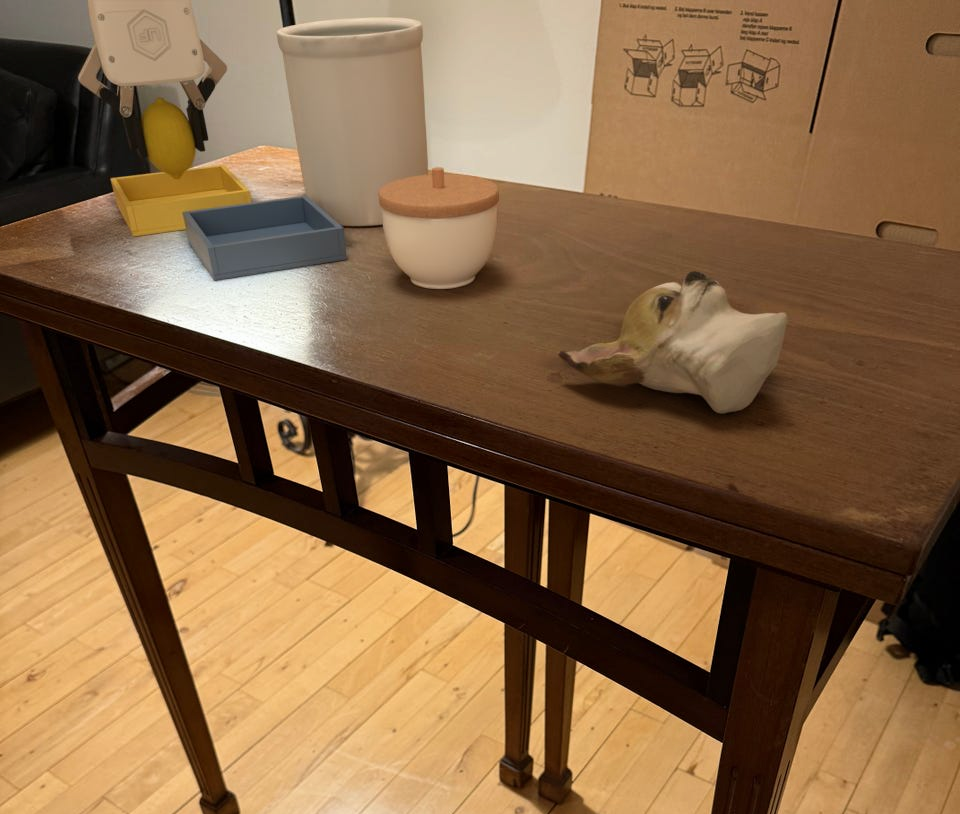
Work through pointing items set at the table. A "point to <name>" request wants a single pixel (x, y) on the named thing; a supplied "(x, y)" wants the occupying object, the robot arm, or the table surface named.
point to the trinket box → (440, 226)
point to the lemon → (168, 138)
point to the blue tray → (264, 236)
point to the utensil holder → (356, 110)
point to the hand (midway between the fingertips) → (171, 150)
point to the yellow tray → (175, 197)
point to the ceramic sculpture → (688, 345)
